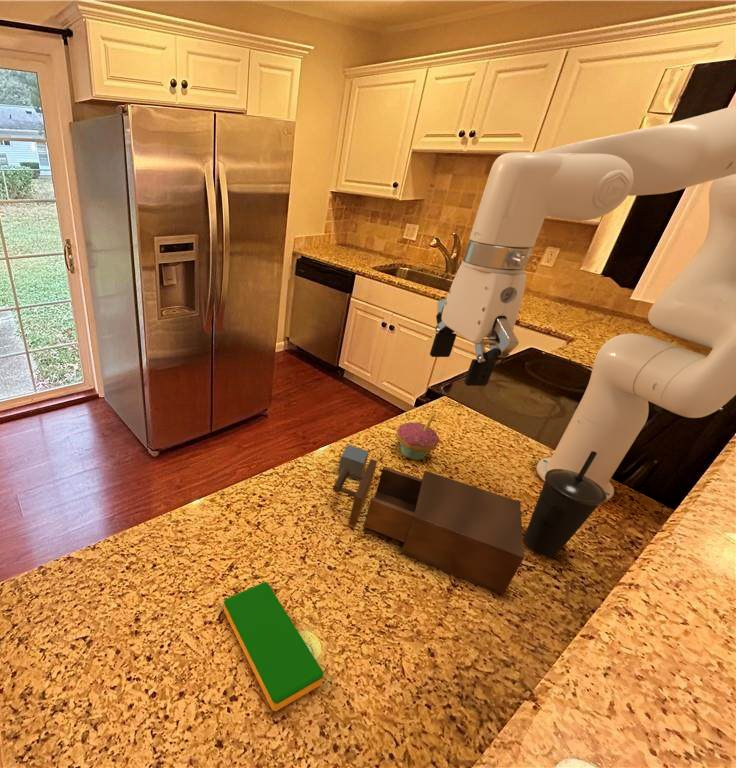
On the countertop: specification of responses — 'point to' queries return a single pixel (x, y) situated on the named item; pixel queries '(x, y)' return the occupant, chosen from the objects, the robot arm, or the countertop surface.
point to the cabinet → (466, 532)
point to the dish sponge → (272, 646)
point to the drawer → (384, 500)
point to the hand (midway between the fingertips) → (455, 369)
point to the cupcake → (417, 439)
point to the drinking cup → (562, 508)
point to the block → (354, 460)
